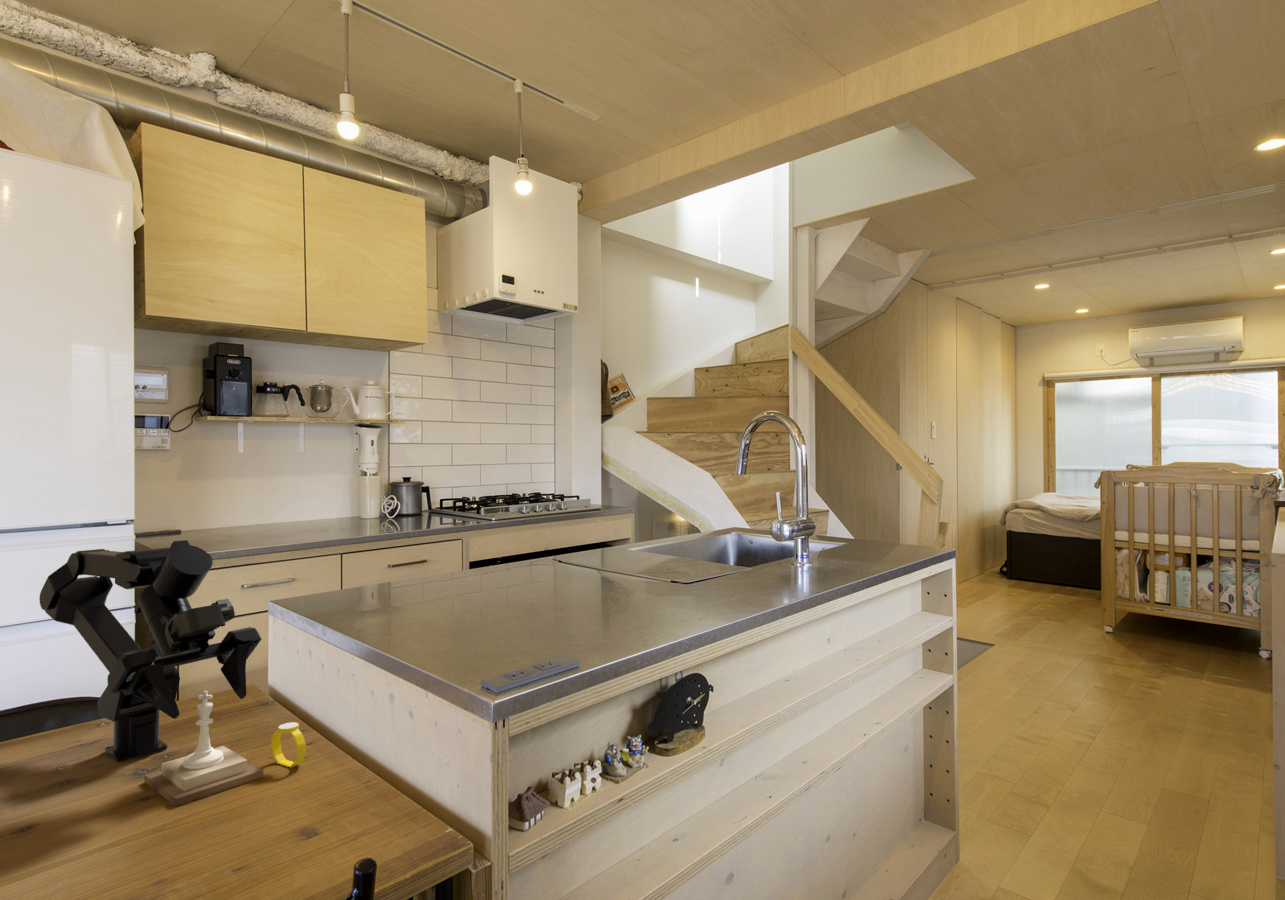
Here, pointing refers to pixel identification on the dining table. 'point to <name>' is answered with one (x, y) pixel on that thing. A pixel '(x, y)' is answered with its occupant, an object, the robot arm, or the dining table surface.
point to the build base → (200, 790)
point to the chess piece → (204, 739)
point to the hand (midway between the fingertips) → (211, 706)
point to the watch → (298, 738)
